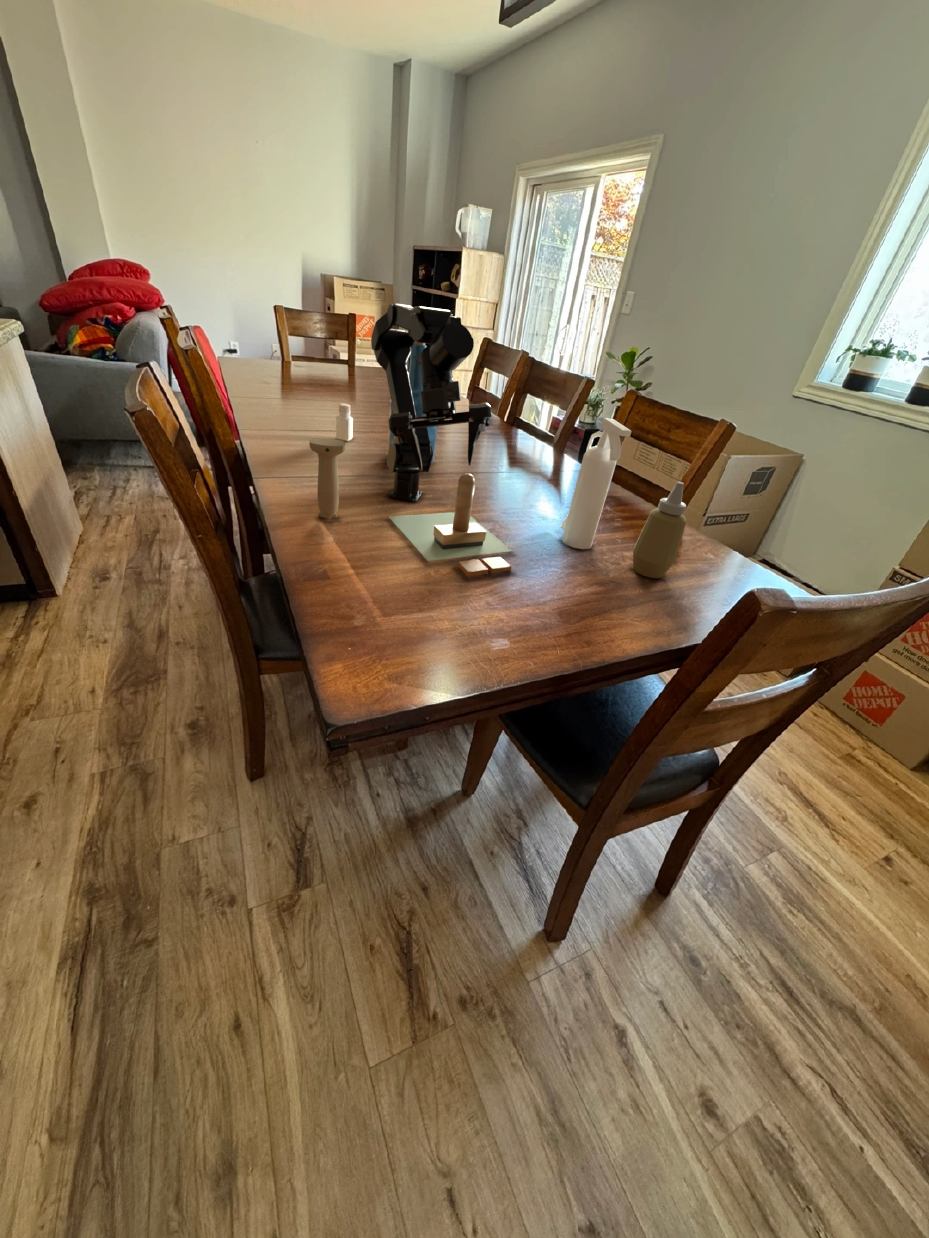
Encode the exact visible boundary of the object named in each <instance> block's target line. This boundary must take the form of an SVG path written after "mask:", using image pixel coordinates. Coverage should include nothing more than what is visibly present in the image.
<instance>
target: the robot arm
mask: <svg viewBox="0 0 929 1238" xmlns="http://www.w3.org/2000/svg"><path fill="white" fill-rule="evenodd" d="M393 326H395V327H399V328H402V329H399V328H398V329H396V328H393ZM414 342H417V343H425V345H426V344H427V347H426V348H425V349H423V351H422V352H421V354H420V356H419V359H418V364H420V365H421V376H422V386H423V391H421V392H420V395H421V402H422V412H423V414H425V416H424V417H416V413H415V407H414V402H413V397H412V392H411V387H410V381H409V371H408V366H407V362H408V360H409V359H410V354H411V349H412V347H413V344H414ZM428 344H429V345H428ZM370 345H371V350H372V351H373V352H374V356H375V361H376V363H377V364H378V365H379V366H380V367H381V368H382V369H383V370H384V371H385V375H386V380H387V386H388V390H389V396H390V400H391V402H392V407H393V413H394V414H391V415H390V417H389V416H388V426H389V430H390V431H391V432H392V433H393V434H394V439H393V441H392V446H391V448H390V450H389V452H388V453H387V454H386V457H385V459H386V467H387V468H388V469H389V471H391V472H392V473H394V475H393V476H394V477H393V489H392V490H391V491H390V493H389V494H388V498H390V499H397V500H403V501H408V502H413V503H417V502H418V501H419V499H420V497H421V496H422V494H423V491H422V490H420V489H419V488H420V478H421V473H429V472H430V469H431V465H432V464H431V461H432V457H433V450H432V446H431V445H430V444H431V442H430V440H429V436H428V430H427V428H426V427H433V426H438V427H441V426H450V425H460V424H467V425H468V427H467V428H468V429H467V430H468V437H467V464H468V466H472V464H473V463H472V462H473V458H474V454H475V450H476V447H477V443H478V440H479V438H480V435H481V433H484V432H486V431H487V430H486V429H487V428H490V427H492V426H493V418H492V407H491V405H490V404H489V403H488V402H483V403H476V404H475V403H474V404H468V411H460V412H457V411H456V402H460V401H461V400H462V396H461V388H460V387H461V386H460V380H455V381H454V375H453V371H454V370H456V369H457V368H458V367H459V366H460V365H461V364H462V363H463V362H464V361H465V360H466V359H467V358H468V357H469V356H470V355H471V354H472V352H473V350H474V347H475V341H474V338H473V336H472V334H471V332H470V330H469V329H468V328H467V327H466V326H465V325H463V324H462V317H459V316H453V313H452V311H451V310H449V309H443V308H436V307H429V306H428V307H427V306H422V305H421V306H420V305H419V306H414V307H413V306H411V305H410V304H403V303H398V302H397V303H396V302H393V303H390V304H389V305H388V307H387V311H386V312H385V313H384V314H383V315H382V316H381V317H380V318H379V319H377V320H376V321H375V324H374V326H373V329H372V333H371V338H370ZM437 420H438V421H437ZM430 421H433V422H430Z"/></svg>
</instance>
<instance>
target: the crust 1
mask: <svg viewBox="0 0 929 1238" xmlns="http://www.w3.org/2000/svg"><path fill="white" fill-rule="evenodd" d="M457 567H458V568H459V570H461V571H462V573H464V574H465V575H466V576H467V577H474V576H481V575H488V574H489V570H488V569H487V568H486V567H485V566H484V565H483V564H482V563H481V561H480V560H479V559H477V558H475V559H468V560H459V561H457Z"/></svg>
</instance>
